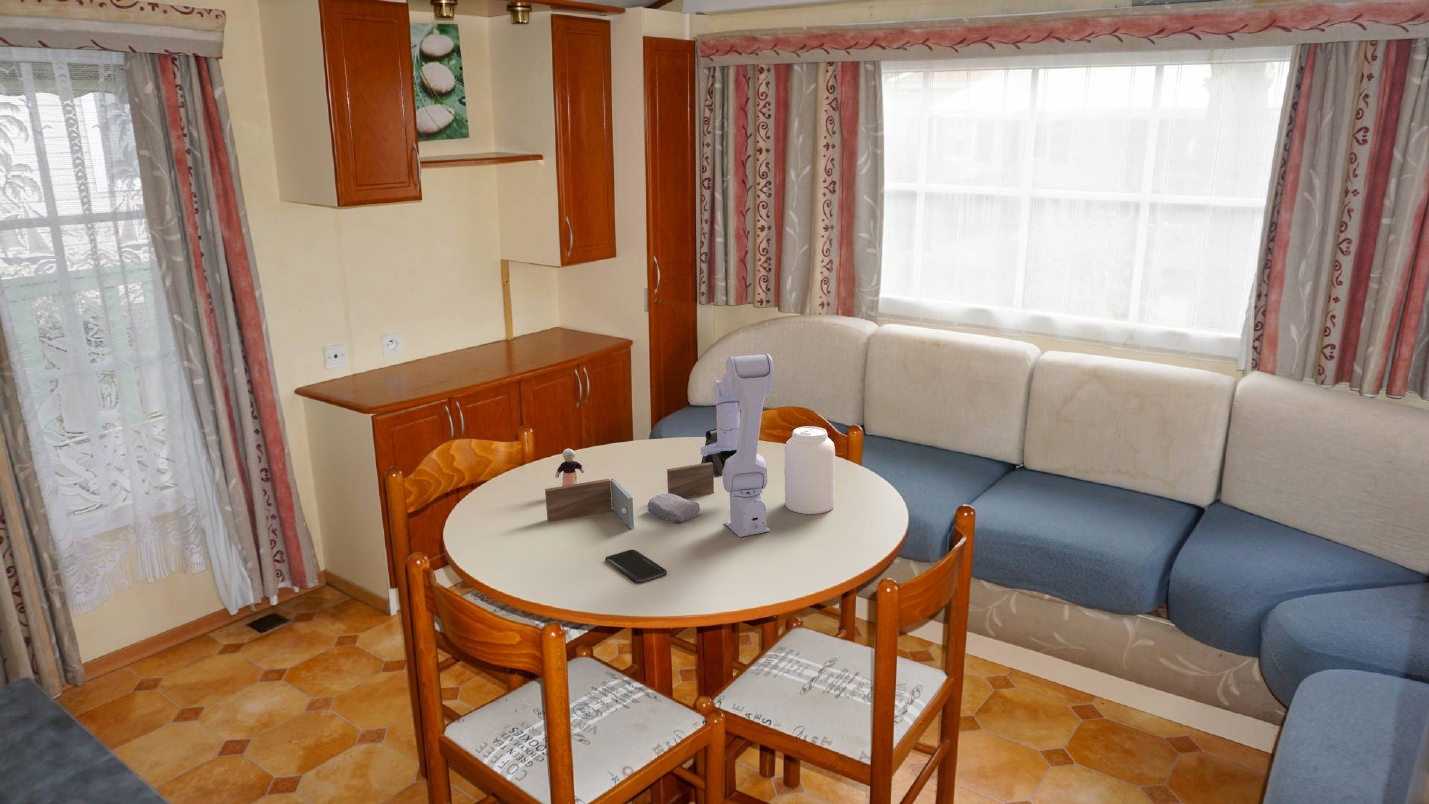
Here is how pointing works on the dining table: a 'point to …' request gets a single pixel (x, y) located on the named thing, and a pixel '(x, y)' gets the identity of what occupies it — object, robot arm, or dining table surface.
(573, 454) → the grandmother figurine
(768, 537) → the dining table surface
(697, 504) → the stone block
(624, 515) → the door
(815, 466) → the can
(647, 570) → the phone
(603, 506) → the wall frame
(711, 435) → the phone stand
